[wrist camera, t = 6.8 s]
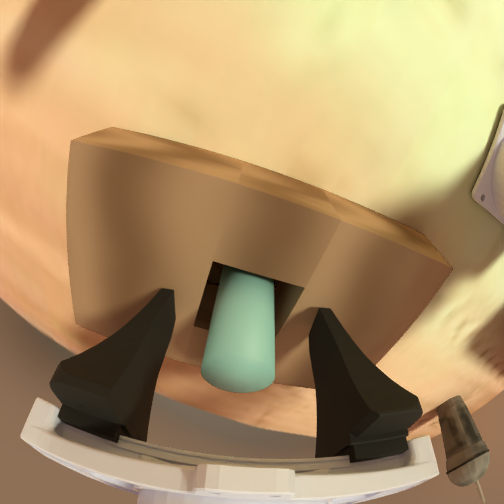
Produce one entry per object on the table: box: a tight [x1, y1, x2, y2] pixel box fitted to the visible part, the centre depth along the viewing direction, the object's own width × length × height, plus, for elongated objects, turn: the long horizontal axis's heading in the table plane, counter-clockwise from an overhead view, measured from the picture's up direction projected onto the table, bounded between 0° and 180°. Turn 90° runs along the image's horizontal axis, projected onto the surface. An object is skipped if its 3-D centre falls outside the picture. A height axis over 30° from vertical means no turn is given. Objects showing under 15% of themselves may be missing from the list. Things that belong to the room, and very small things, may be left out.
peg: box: [201, 265, 275, 393], centre depth 14 cm, size 3×3×8 cm
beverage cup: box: [437, 396, 490, 504], centre depth 22 cm, size 7×7×20 cm
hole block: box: [66, 127, 453, 389], centre depth 16 cm, size 20×12×4 cm, turn 71°
